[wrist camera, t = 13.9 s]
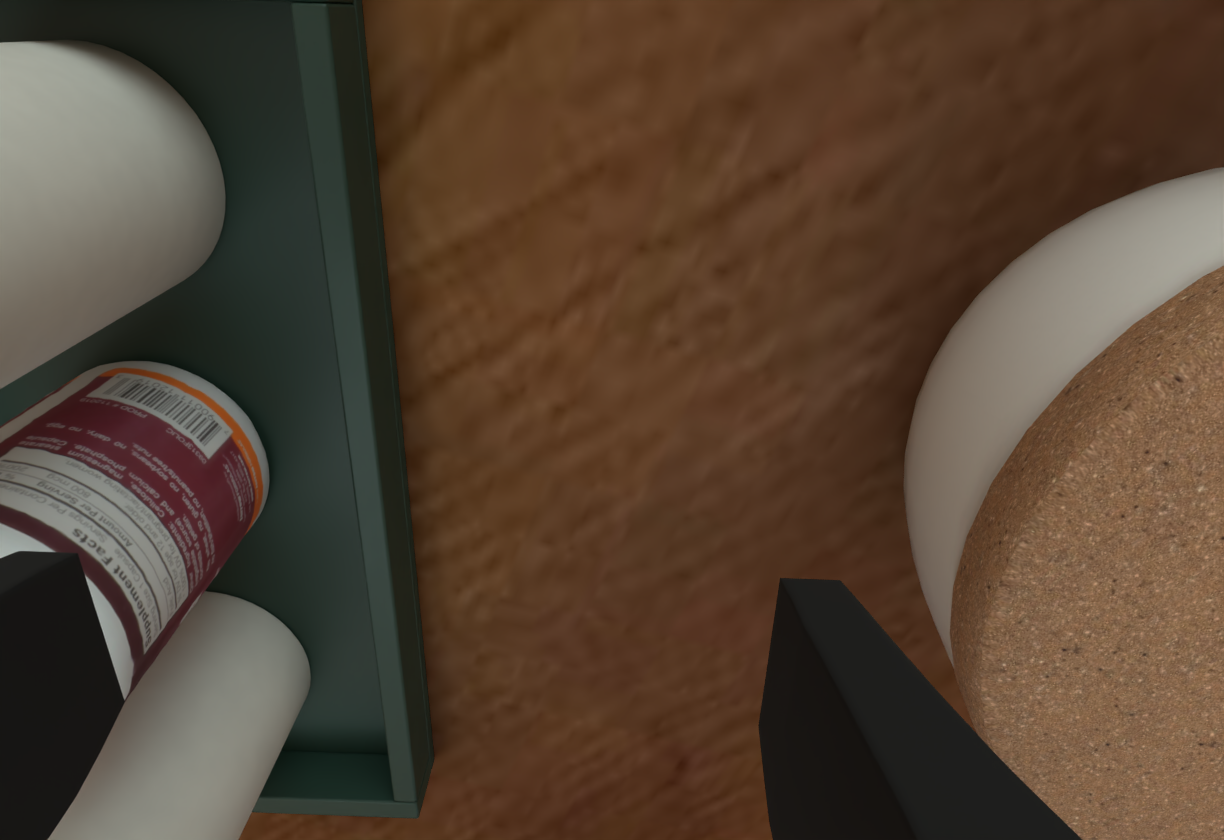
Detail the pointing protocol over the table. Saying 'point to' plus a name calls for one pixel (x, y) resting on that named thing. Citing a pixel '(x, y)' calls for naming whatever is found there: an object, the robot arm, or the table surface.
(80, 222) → the pale bottle near
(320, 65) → the tray
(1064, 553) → the trinket box
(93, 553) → the pill bottle
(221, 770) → the pale bottle far
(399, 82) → the table surface
